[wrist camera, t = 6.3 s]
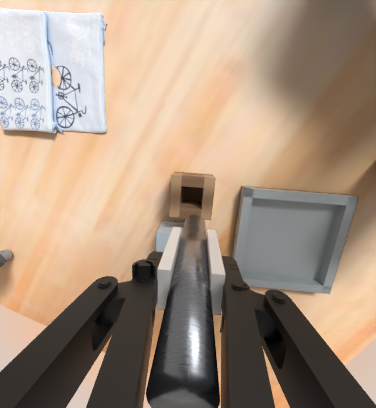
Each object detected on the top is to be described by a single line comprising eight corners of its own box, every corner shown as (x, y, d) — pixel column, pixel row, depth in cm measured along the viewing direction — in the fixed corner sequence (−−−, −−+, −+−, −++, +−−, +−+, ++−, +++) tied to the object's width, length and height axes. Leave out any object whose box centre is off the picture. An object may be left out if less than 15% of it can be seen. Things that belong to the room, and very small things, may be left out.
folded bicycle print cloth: (-10, 10, 31) (-25, -1, 29) (109, 18, 30) (103, 7, 28) (7, 131, 36) (-5, 129, 33) (111, 140, 35) (105, 139, 33)
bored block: (175, 171, 35) (171, 174, 29) (212, 174, 35) (215, 177, 29) (173, 207, 37) (168, 216, 31) (208, 210, 37) (210, 220, 31)
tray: (241, 186, 35) (244, 188, 33) (347, 194, 35) (358, 197, 32) (228, 276, 40) (230, 284, 38) (321, 285, 39) (329, 293, 37)
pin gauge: (184, 213, 21) (145, 366, 6) (205, 215, 21) (223, 373, 6) (183, 233, 22) (146, 418, 6) (204, 234, 22) (216, 426, 6)
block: (162, 220, 38) (156, 232, 32) (197, 223, 38) (197, 235, 32) (161, 252, 40) (155, 268, 34) (194, 254, 39) (194, 271, 33)
